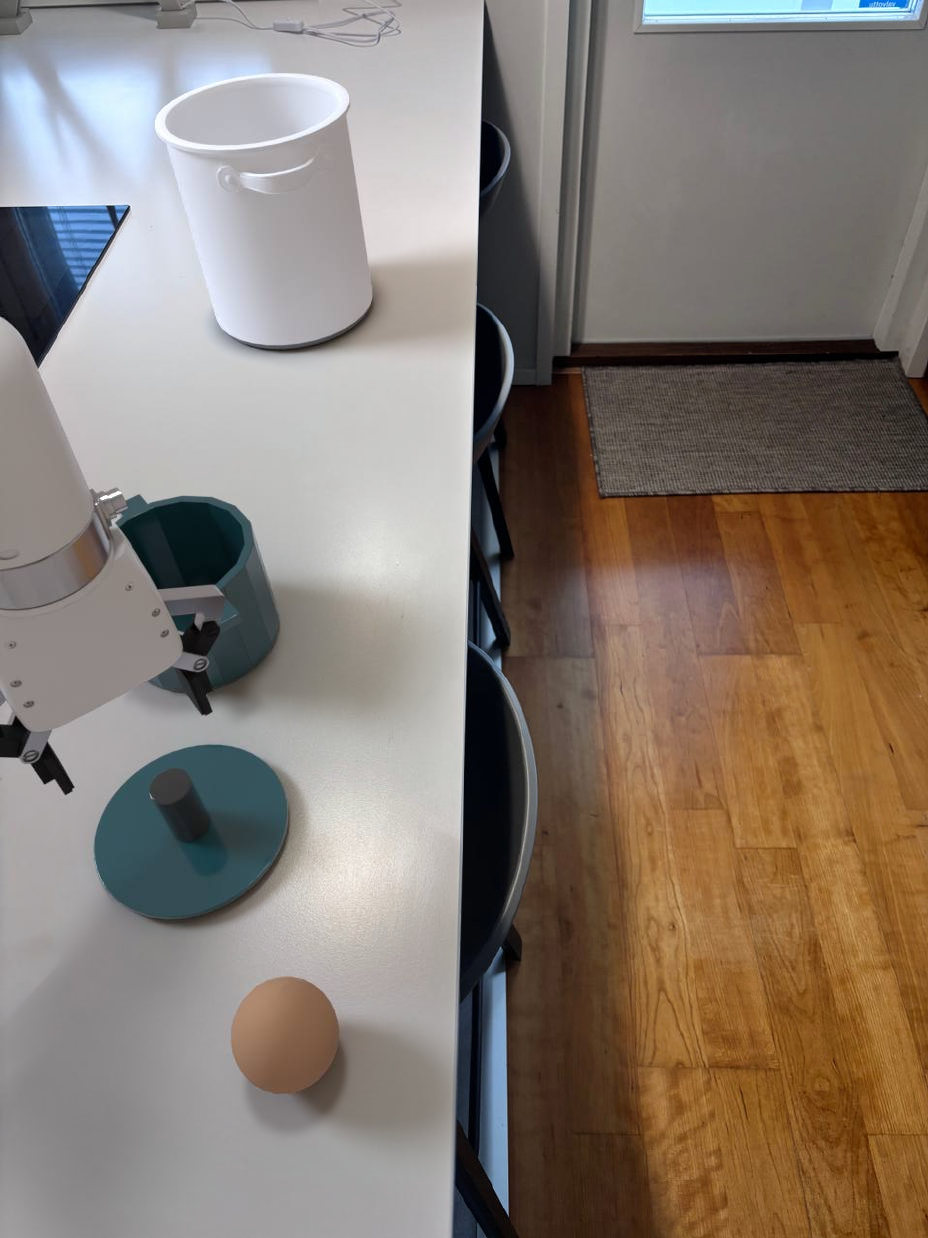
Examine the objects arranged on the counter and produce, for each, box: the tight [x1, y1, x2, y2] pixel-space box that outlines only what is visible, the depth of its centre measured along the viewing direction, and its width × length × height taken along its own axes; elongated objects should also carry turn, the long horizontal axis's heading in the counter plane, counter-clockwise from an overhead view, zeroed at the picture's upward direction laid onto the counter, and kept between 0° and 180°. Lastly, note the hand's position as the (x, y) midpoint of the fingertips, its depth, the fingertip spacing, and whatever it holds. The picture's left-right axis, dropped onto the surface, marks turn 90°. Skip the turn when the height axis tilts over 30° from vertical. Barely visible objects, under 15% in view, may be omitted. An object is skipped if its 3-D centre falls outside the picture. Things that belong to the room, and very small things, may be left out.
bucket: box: [154, 72, 373, 350], centre depth 114 cm, size 26×22×24 cm
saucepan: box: [114, 493, 280, 693], centre depth 82 cm, size 14×19×10 cm
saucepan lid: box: [93, 744, 289, 920], centre depth 70 cm, size 15×15×7 cm
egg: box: [230, 976, 340, 1095], centre depth 58 cm, size 6×6×8 cm
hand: (132, 738), depth 62 cm, fingers open, 9 cm apart
